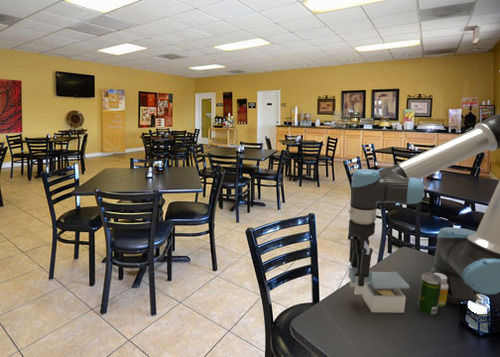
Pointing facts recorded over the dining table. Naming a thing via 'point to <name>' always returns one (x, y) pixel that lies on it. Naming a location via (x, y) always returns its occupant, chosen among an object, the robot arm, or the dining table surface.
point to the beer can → (429, 293)
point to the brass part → (385, 292)
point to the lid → (381, 279)
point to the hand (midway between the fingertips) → (356, 289)
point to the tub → (384, 299)
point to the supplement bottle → (443, 289)
